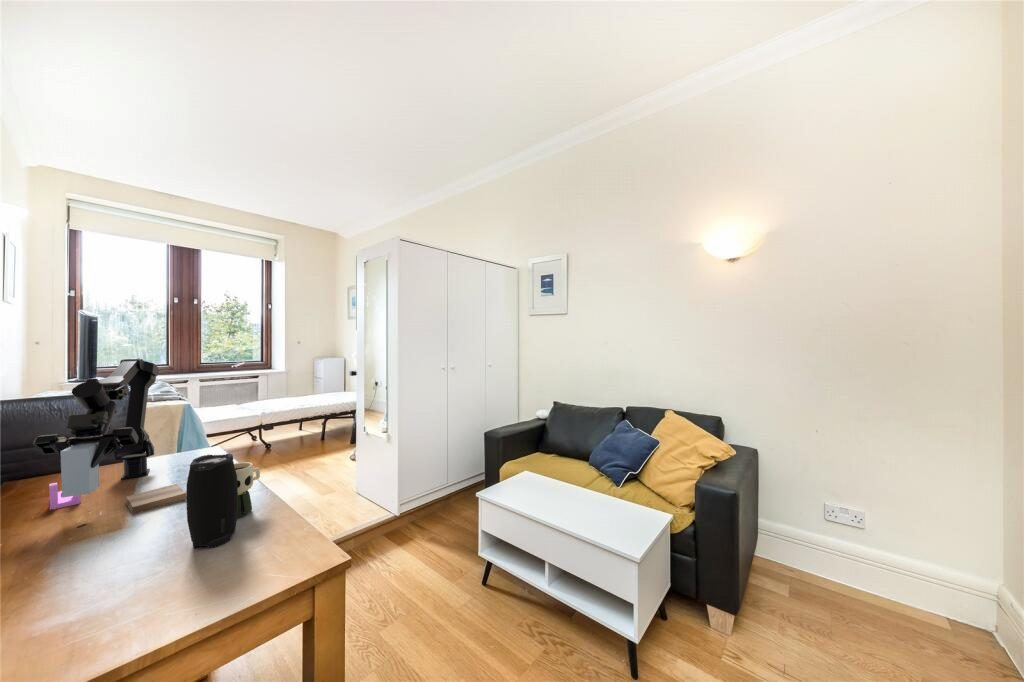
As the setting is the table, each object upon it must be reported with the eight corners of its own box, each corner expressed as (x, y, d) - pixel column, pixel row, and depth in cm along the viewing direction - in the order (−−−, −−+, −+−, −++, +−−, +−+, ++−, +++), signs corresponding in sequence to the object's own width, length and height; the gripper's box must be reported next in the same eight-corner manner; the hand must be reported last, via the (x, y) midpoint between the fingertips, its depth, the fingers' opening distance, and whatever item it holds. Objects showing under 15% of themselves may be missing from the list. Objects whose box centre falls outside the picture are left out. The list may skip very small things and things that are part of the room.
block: (73, 490, 100) (71, 446, 99) (99, 486, 102) (97, 443, 102) (62, 497, 95) (60, 451, 95) (89, 493, 98) (88, 448, 97)
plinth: (126, 503, 107) (125, 496, 107) (176, 490, 116) (176, 483, 116) (133, 514, 100) (132, 507, 100) (186, 499, 109) (186, 492, 109)
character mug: (218, 527, 93) (217, 476, 93) (207, 519, 97) (206, 470, 97) (266, 509, 102) (265, 463, 102) (254, 503, 106) (253, 458, 106)
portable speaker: (188, 539, 88) (186, 457, 87) (237, 526, 94) (236, 449, 93) (186, 556, 81) (184, 467, 81) (240, 541, 87) (238, 458, 87)
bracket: (80, 503, 107) (79, 479, 107) (50, 510, 103) (49, 485, 103) (79, 491, 116) (79, 469, 116) (51, 497, 112) (50, 474, 111)
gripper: (35, 405, 97) (6, 460, 88) (132, 398, 106) (116, 447, 97) (55, 428, 104) (30, 481, 95) (144, 420, 113) (130, 468, 104)
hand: (77, 468), depth 97 cm, fingers closed on block, 5 cm apart
